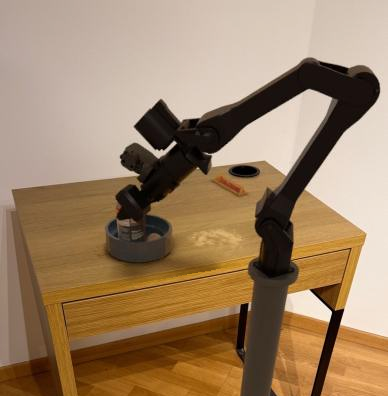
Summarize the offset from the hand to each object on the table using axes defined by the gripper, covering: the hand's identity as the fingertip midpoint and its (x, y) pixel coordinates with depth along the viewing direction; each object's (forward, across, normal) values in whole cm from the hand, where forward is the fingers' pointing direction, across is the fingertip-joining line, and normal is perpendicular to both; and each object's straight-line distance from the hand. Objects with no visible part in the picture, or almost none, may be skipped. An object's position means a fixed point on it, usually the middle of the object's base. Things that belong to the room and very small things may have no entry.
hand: (125, 212), depth 103 cm
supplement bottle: (+4, 0, +6) cm, 7 cm away
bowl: (+4, -2, +8) cm, 9 cm away
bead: (0, -2, +8) cm, 9 cm away
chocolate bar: (0, -44, +12) cm, 46 cm away
